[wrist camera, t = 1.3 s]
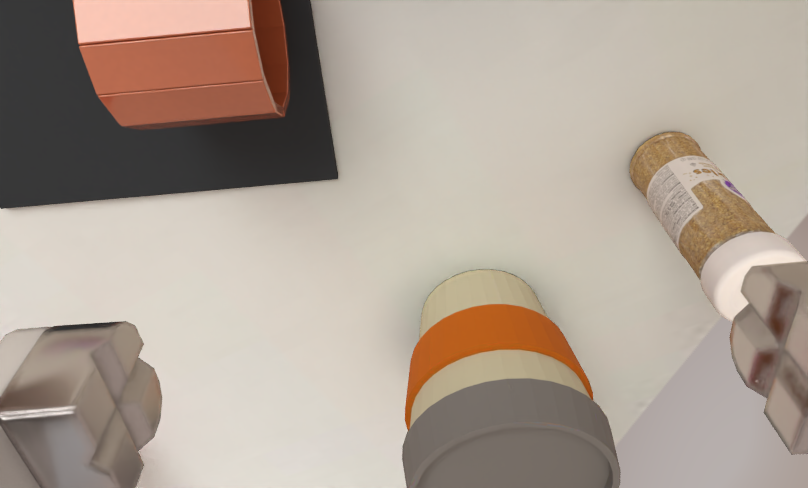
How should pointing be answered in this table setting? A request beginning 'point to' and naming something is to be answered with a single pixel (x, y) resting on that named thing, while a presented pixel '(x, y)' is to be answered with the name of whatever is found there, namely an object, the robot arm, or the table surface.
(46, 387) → the robot arm
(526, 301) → the reusable coffee cup
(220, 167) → the mat
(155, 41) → the cup
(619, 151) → the table surface
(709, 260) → the spice jar
